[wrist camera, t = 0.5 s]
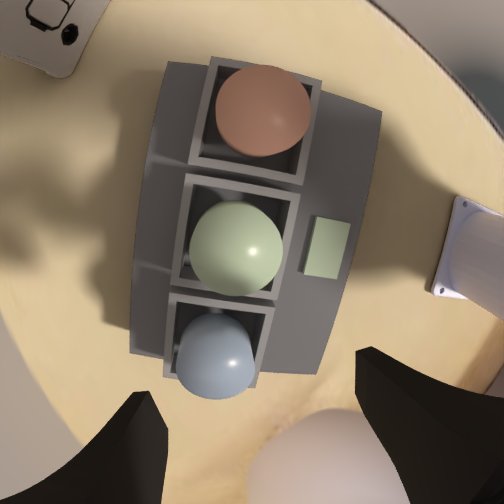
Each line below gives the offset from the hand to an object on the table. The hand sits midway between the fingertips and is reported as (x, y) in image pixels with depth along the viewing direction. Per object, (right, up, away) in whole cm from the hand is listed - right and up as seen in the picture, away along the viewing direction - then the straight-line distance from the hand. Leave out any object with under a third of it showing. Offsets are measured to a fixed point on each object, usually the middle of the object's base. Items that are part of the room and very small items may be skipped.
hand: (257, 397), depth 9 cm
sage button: (-1, +5, +5) cm, 7 cm away
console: (0, +6, +9) cm, 11 cm away
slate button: (-2, 0, +6) cm, 6 cm away
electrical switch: (-13, +21, +4) cm, 25 cm away
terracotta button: (0, +11, +3) cm, 11 cm away
